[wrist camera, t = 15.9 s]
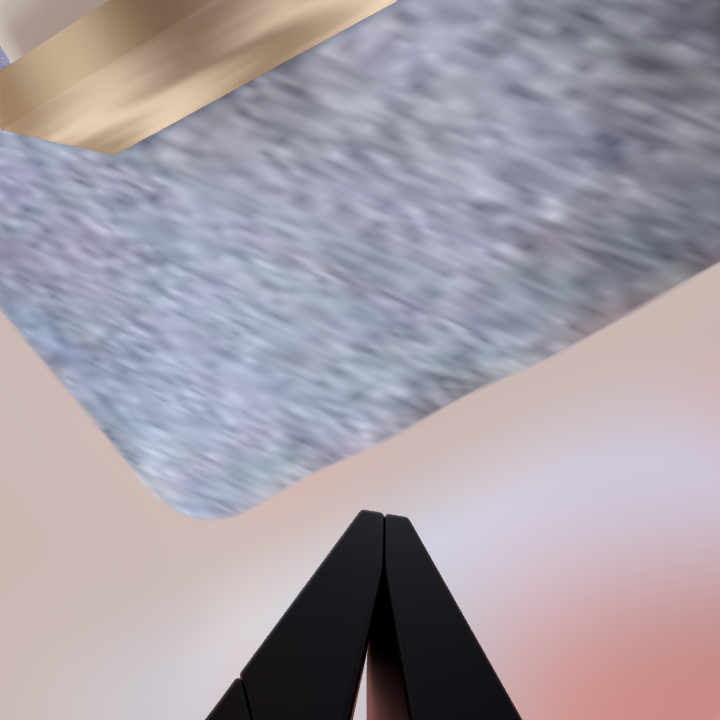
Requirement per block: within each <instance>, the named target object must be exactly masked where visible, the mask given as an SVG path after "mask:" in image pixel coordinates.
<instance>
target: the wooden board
mask: <svg viewBox="0 0 720 720" xmlns="http://www.w3.org/2000/svg"><path fill="white" fill-rule="evenodd" d="M396 1H398V0H108V1H106V2H105V3H103V4H102V5H100V6H99V7H97V8H96V9H94V10H93V11H91V12H89V13H88V14H86V15H85V16H83V17H82V18H80V19H79V20H77V21H76V22H74V23H73V24H71V25H70V26H68V27H67V28H65V29H63V30H62V31H60V32H59V33H57V34H56V35H54V36H53V37H51V38H50V39H48V40H47V41H45V42H44V43H42V44H40V45H39V46H37V47H36V48H34V49H33V50H31V51H30V52H28V53H27V54H25V55H24V56H22V57H21V58H19V59H18V60H16V61H14V62H13V63H11V64H10V65H8V66H7V67H5V68H4V69H2V70H1V71H0V129H1V130H4V131H8V132H13V133H17V134H22V135H26V136H31V137H35V138H39V139H44V140H48V141H53V142H57V143H62V144H66V145H71V146H75V147H80V148H84V149H89V150H93V151H98V152H102V153H106V154H111V155H116V154H118V153H119V152H121V151H123V150H125V149H127V148H129V147H130V146H132V145H134V144H136V143H138V142H140V141H141V140H143V139H145V138H147V137H149V136H151V135H152V134H154V133H156V132H158V131H160V130H162V129H163V128H165V127H167V126H169V125H171V124H173V123H174V122H176V121H178V120H180V119H182V118H184V117H185V116H187V115H189V114H191V113H193V112H194V111H196V110H198V109H200V108H202V107H204V106H205V105H207V104H209V103H211V102H213V101H215V100H216V99H218V98H220V97H222V96H224V95H226V94H227V93H229V92H231V91H233V90H235V89H237V88H238V87H240V86H242V85H244V84H246V83H248V82H249V81H251V80H253V79H255V78H257V77H259V76H260V75H262V74H264V73H266V72H268V71H270V70H271V69H273V68H275V67H277V66H279V65H280V64H282V63H284V62H286V61H288V60H290V59H291V58H293V57H295V56H297V55H299V54H301V53H302V52H304V51H306V50H308V49H310V48H312V47H313V46H315V45H317V44H319V43H321V42H323V41H324V40H326V39H328V38H330V37H332V36H334V35H335V34H337V33H339V32H341V31H343V30H345V29H346V28H348V27H350V26H352V25H354V24H355V23H357V22H359V21H361V20H363V19H365V18H366V17H368V16H370V15H372V14H374V13H376V12H377V11H379V10H381V9H383V8H385V7H387V6H388V5H390V4H392V3H394V2H396Z"/></svg>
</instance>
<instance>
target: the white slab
mask: <svg viewBox="0 0 720 720" xmlns="http://www.w3.org/2000/svg"><path fill="white" fill-rule="evenodd" d="M106 1H108V0H0V46H1V47H2V49H3V51H4V53H5V54H6V56H7V58H8V60H9V61H10V63H13V62H14V61H16V60H18V59H19V58H21V57H22V56H24V55H25V54H27V53H28V52H30V51H31V50H33V49H34V48H36V47H37V46H39V45H40V44H42V43H44V42H45V41H47V40H48V39H50V38H51V37H53V36H54V35H56V34H57V33H59V32H60V31H62V30H63V29H65V28H67V27H68V26H70V25H71V24H73V23H74V22H76V21H77V20H79V19H80V18H82V17H83V16H85V15H86V14H88V13H89V12H91V11H93V10H94V9H96V8H97V7H99V6H100V5H102V4H103V3H105V2H106Z"/></svg>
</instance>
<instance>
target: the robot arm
mask: <svg viewBox="0 0 720 720" xmlns="http://www.w3.org/2000/svg"><path fill="white" fill-rule="evenodd" d="M366 654H367V720H522V719H521V717H520V715H519V713H518V711H517V710H516V708H515V706H514V704H513V703H512V701H511V699H510V697H509V695H508V694H507V692H506V691H505V688H504V687H503V685H502V683H501V681H500V679H499V678H498V676H497V674H496V672H495V671H494V669H493V667H492V665H491V663H490V662H489V660H488V659H487V656H486V655H485V653H484V651H483V649H482V648H481V646H480V644H479V642H478V640H477V639H476V637H475V635H474V633H473V632H472V630H471V628H470V626H469V625H468V623H467V621H466V619H465V618H464V616H463V614H462V612H461V610H460V609H459V607H458V605H457V604H456V601H455V600H454V598H453V596H452V594H451V593H450V591H449V589H448V587H447V586H446V584H445V582H444V580H443V578H442V577H441V575H440V573H439V571H438V570H437V568H436V566H435V564H434V562H433V561H432V559H431V557H430V555H429V554H428V552H427V550H426V548H425V546H424V545H423V543H422V541H421V539H420V538H419V536H418V534H417V532H416V531H415V529H414V527H413V525H412V523H411V522H410V520H409V519H408V518H407V517H403V516H397V515H391V514H387V515H386V516H385V517H384V515H383V514H382V513H380V512H374V511H369V510H361V511H360V512H359V513H358V515H357V516H356V517H355V519H354V520H353V522H352V523H351V524H350V525H349V527H348V528H347V530H346V531H345V532H344V534H343V535H342V536H341V538H340V539H339V540H338V542H337V543H336V544H335V546H334V547H333V548H332V550H331V551H330V553H329V554H328V555H327V557H326V558H325V559H324V561H323V562H322V563H321V565H320V566H319V567H318V569H317V570H316V572H315V573H314V575H312V577H311V578H310V580H309V581H308V582H307V584H306V585H305V587H304V588H303V589H302V590H301V592H300V593H299V595H298V596H297V597H296V598H295V600H294V601H293V603H292V604H291V605H290V607H289V608H288V609H287V611H286V612H285V613H284V615H283V616H282V618H281V619H280V620H279V621H278V623H277V624H276V625H275V627H274V628H273V630H272V631H271V632H270V634H269V635H268V636H267V638H266V639H265V640H264V642H263V643H262V644H261V646H260V647H259V648H258V650H257V651H256V652H255V654H254V655H253V657H252V658H251V659H250V661H249V662H248V663H247V665H246V666H245V667H244V669H243V670H242V672H241V673H240V679H239V678H237V679H235V680H234V682H233V683H232V684H231V686H230V687H229V689H228V690H227V691H226V693H225V694H224V695H223V697H222V698H221V699H220V701H219V702H218V703H217V705H216V706H215V707H214V709H213V710H212V711H211V713H210V714H209V715H208V716H207V718H206V719H205V720H353V716H354V711H355V707H356V702H357V697H358V692H359V688H360V683H361V679H362V674H363V669H364V663H365V659H366Z"/></svg>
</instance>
